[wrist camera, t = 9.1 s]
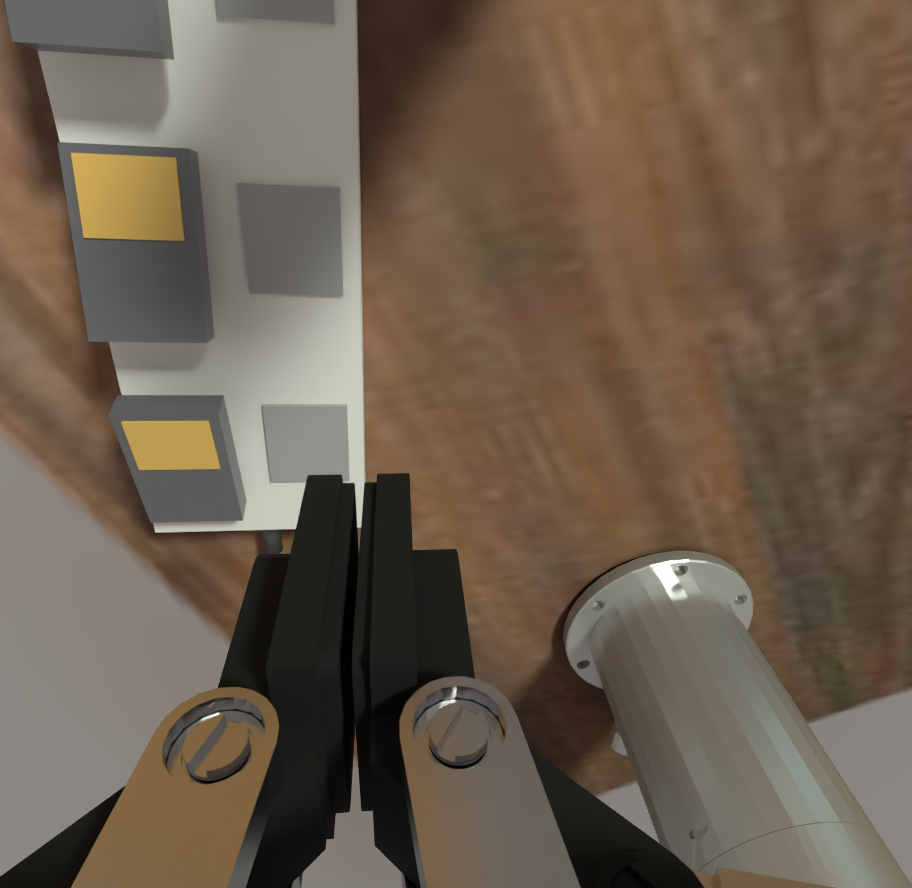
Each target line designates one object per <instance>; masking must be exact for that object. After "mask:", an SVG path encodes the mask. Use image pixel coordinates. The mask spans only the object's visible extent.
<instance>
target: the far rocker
mask: <svg viewBox="0 0 912 888" xmlns="http://www.w3.org/2000/svg"><path fill="white" fill-rule="evenodd" d="M108 416H109V418H110V421H111V423H112V426H113V428H114V431H115V433H116V436H117V438H118V441H119V444H120V446H121V449H122V451H123V454H124V456H125V459H126V461H127V464H128V467H129V469H130V472H131V474H132V477H133V479H134V482H135V484H136V487H137V489H138V492H139V495H140V497H141V500H142V502H143V505H144V507H145V510H146V512H147V515H148V518H149V520H150V523H164V522H206V521H243V518H244V512H245V507H246V501H247V500H246V496H245V491H244V487H243V482H242V478H241V473H240V468H239V464H238V459H237V455H236V450H235V446H234V441H233V437H232V432H231V427H230V423H229V418H228V414H227V409H226V405H225V400H224V395H117V397H116V399H115V402H114V404H113V406H112V408H111V411H110V413H109V415H108Z"/></svg>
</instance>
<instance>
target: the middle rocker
mask: <svg viewBox="0 0 912 888" xmlns="http://www.w3.org/2000/svg"><path fill="white" fill-rule="evenodd" d="M57 144H58V150H59V156H60V163H61V169H62V176H63V182H64V188H65V195H66V201H67V208H68V214H69V220H70V227H71V233H72V240H73V246H74V252H75V259H76V265H77V272H78V278H79V284H80V291H81V297H82V304H83V310H84V317H85V323H86V329H87V336H88V342H157V343H207V342H209V341H210V340H212V339H213V338H214V327H213V316H212V305H211V294H210V283H209V272H208V261H207V250H206V239H205V228H204V217H203V206H202V195H201V184H200V173H199V162H198V152H196V151H193V150H191V149H188V148H168V147H148V146H128V145H108V144H88V143H68V142H57Z"/></svg>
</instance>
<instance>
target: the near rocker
mask: <svg viewBox="0 0 912 888" xmlns="http://www.w3.org/2000/svg"><path fill="white" fill-rule="evenodd" d="M4 1H5V7H6V12H7V17H8V22H9V28H10V33H11V38H12V42H14V43H17V44H19V45H22V46H24V47H26V48H29V49H31V50H36V51H51V52H66V53H81V54H96V55H111V56H126V57H141V58H156V59H171V60H174V52H173V43H172V34H171V25H170V16H169V6H168V0H4Z"/></svg>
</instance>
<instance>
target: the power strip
mask: <svg viewBox="0 0 912 888" xmlns="http://www.w3.org/2000/svg"><path fill="white" fill-rule="evenodd" d="M168 6H169V16H170V25H171V34H172V43H173V52H174V60H171V59H156V58H141V57H126V56H111V55H96V54H81V53H66V52H51V51H38V55H39V59H40V63H41V67H42V71H43V75H44V79H45V84H46V88H47V92H48V96H49V100H50V104H51V108H52V112H53V116H54V120H55V124H56V128H57V133H58V137H59V141H60V142H68V143H88V144H108V145H128V146H148V147H168V148H188V149H191V150H193V151H196V152H198V162H199V173H200V184H201V195H202V206H203V217H204V228H205V239H206V250H207V261H208V272H209V283H210V294H211V305H212V316H213V327H214V338H213V339H212V340H210V341H209V342H207V343H157V342H109V345H110V349H111V353H112V357H113V362H114V366H115V370H116V374H117V378H118V382H119V386H120V390H121V394H122V395H224V400H225V405H226V409H227V414H228V418H229V423H230V427H231V432H232V437H233V441H234V446H235V450H236V455H237V459H238V464H239V468H240V473H241V478H242V482H243V487H244V491H245V496H246V500H247V501H246V507H245V512H244V518H243V521H206V522H164V523H153V525H154V529H155V533H160V532H199V531H238V530H261V533H262V540H263V548H264V552H265V553H266V554H279V553H280V552H281V551H282V550H283V544H282V535H281V529H296V526H297V521H298V517H299V512H300V508H301V503H302V499H303V494H304V489H305V485H306V480H307V477H308V475H337V474H341V475H342V479H343V483H354V484H355V495H356V513H357V527H361V523H362V509H363V495H364V483H366V477H365V419H364V362H363V304H362V246H361V188H360V130H359V73H358V15H357V0H168Z"/></svg>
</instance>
